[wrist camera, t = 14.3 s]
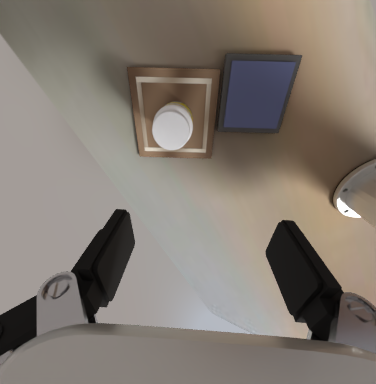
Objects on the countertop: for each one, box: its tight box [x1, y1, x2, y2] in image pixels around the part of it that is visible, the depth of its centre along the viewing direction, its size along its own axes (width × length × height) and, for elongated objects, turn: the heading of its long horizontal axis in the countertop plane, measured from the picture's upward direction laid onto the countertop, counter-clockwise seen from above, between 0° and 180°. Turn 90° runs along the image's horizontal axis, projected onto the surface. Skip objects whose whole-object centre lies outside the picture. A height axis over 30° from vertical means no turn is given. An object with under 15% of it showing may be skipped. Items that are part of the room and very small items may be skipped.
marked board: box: [127, 67, 220, 158], centre depth 25 cm, size 12×12×1 cm
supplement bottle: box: [152, 101, 193, 150], centre depth 21 cm, size 5×5×8 cm
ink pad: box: [217, 53, 302, 133], centre depth 22 cm, size 9×9×2 cm
